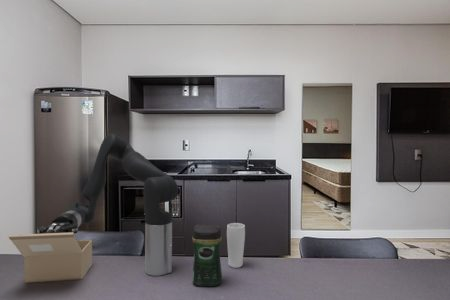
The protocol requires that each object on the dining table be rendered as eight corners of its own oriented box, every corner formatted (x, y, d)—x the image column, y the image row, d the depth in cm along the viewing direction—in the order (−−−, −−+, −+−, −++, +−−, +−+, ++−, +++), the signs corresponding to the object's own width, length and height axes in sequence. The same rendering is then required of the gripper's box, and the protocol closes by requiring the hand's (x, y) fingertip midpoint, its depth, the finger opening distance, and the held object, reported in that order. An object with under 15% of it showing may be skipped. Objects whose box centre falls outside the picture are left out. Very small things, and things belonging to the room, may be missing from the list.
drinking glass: (243, 270, 102) (243, 228, 101) (224, 268, 103) (225, 227, 103) (245, 262, 108) (246, 223, 108) (228, 261, 110) (228, 222, 109)
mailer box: (92, 264, 105) (92, 240, 105) (81, 279, 93) (81, 252, 93) (41, 267, 102) (41, 242, 102) (24, 283, 90) (24, 255, 90)
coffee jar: (222, 276, 96) (222, 222, 96) (221, 288, 89) (221, 228, 88) (193, 275, 97) (194, 221, 97) (190, 287, 89) (190, 228, 89)
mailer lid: (73, 232, 85) (72, 234, 84) (82, 251, 93) (81, 253, 93) (9, 234, 82) (8, 237, 81) (24, 254, 90) (23, 256, 90)
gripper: (47, 213, 102) (21, 226, 85) (86, 212, 104) (69, 224, 87) (47, 234, 102) (21, 251, 85) (86, 232, 104) (69, 249, 87)
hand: (45, 238), depth 86 cm, fingers closed
